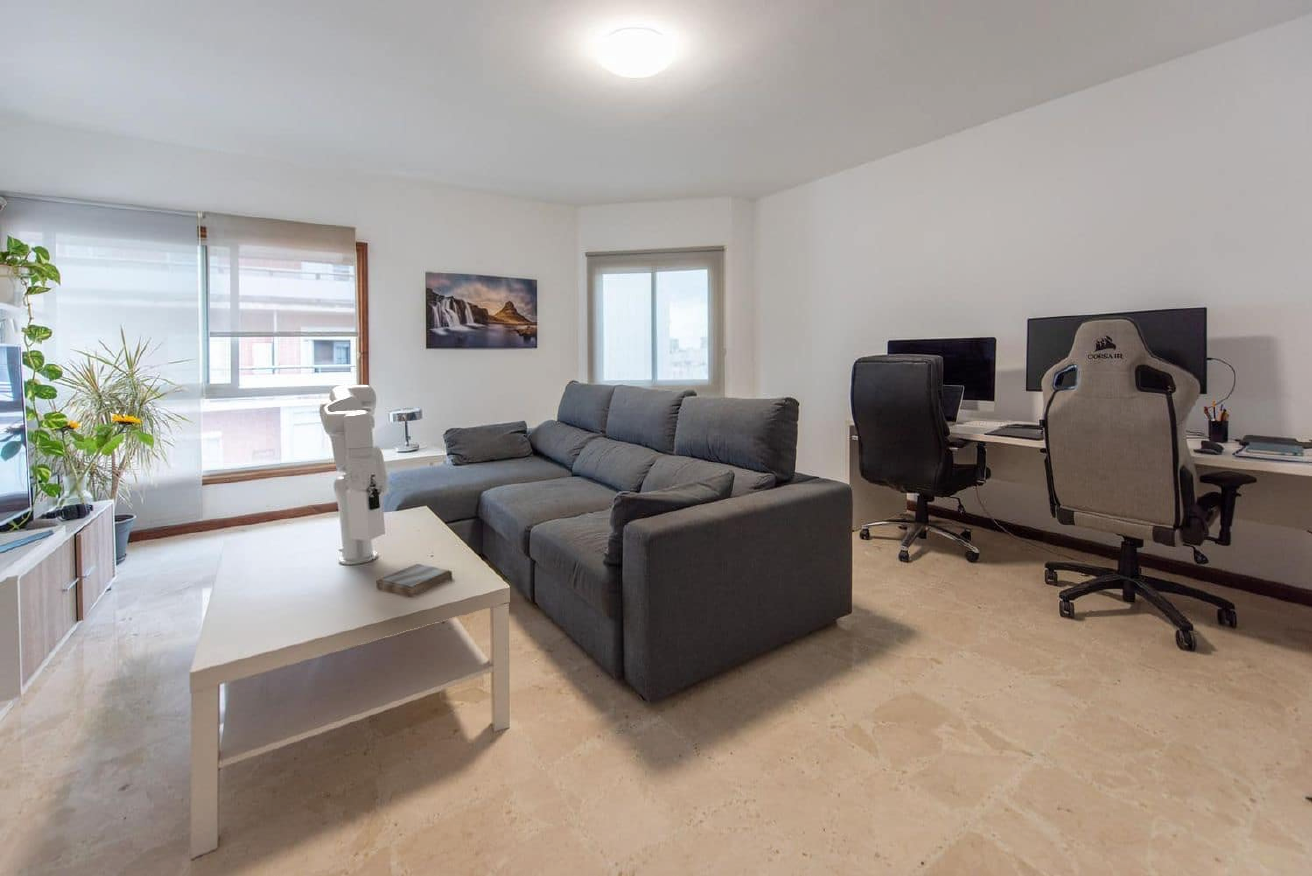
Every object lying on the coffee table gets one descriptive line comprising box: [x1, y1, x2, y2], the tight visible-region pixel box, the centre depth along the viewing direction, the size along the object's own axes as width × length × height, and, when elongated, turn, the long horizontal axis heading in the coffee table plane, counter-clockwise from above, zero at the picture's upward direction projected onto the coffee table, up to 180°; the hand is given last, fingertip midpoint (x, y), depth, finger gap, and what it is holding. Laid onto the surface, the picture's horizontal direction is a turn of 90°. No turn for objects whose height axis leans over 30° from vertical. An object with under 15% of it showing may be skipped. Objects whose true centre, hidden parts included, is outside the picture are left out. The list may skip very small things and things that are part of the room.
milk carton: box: [346, 483, 386, 540], centre depth 179 cm, size 7×7×19 cm
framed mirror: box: [375, 563, 453, 598], centre depth 184 cm, size 16×16×3 cm
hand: (365, 507), depth 179 cm, fingers closed on milk carton, 8 cm apart
